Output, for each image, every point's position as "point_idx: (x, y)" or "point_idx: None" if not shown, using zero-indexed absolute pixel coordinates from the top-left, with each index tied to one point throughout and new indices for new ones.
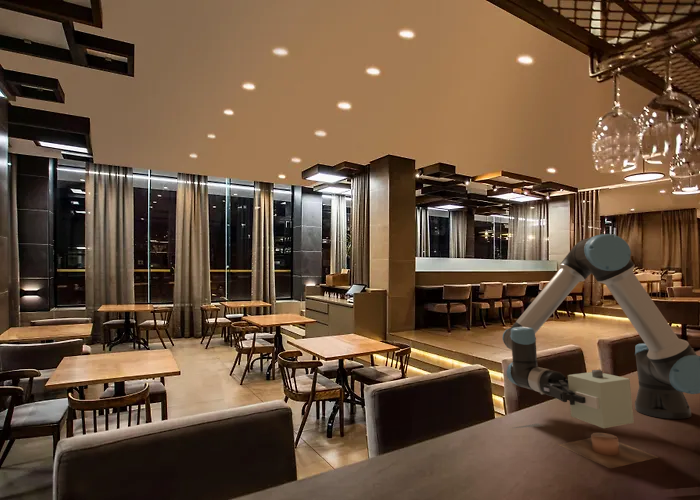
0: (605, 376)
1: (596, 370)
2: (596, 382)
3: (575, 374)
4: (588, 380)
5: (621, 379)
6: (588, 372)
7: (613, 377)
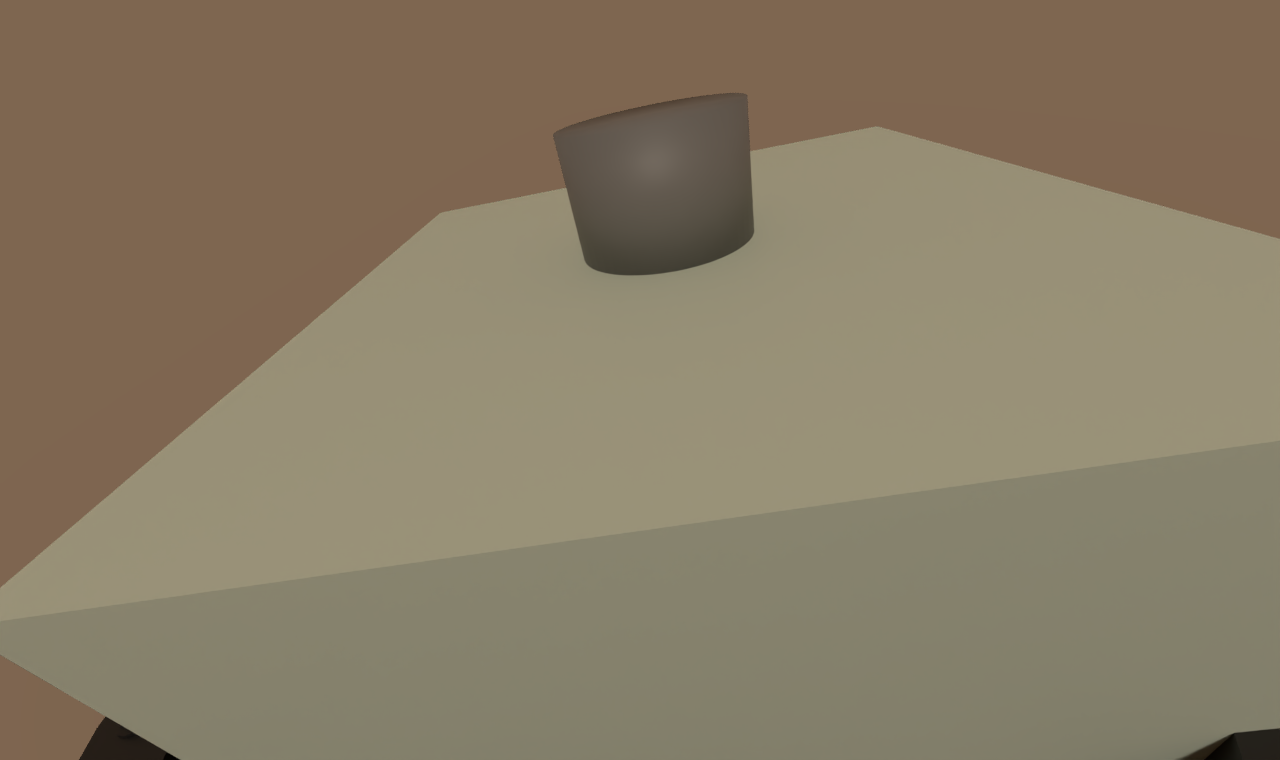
0: (527, 256)
1: (639, 118)
2: (895, 136)
3: (1171, 411)
4: (963, 154)
5: (535, 197)
6: (359, 562)
7: (502, 232)
